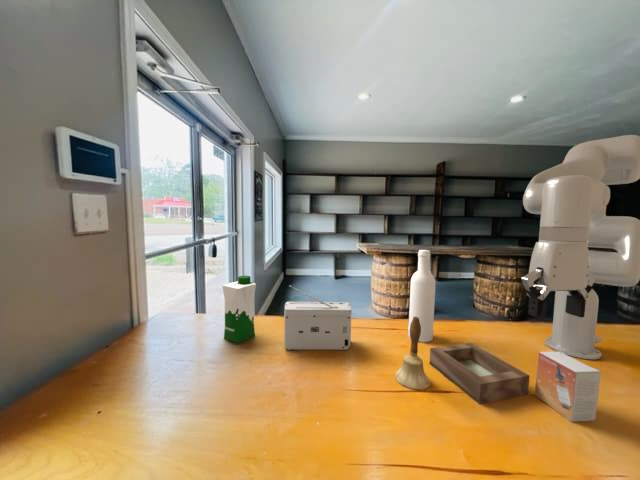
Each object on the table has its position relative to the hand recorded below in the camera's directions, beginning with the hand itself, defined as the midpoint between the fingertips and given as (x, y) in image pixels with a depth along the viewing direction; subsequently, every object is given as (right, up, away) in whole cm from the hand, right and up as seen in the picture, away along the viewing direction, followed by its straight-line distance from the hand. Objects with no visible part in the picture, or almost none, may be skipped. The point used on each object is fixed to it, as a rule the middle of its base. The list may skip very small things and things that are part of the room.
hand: (555, 315), depth 54 cm
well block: (-11, -19, +10) cm, 24 cm away
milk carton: (-78, -16, +30) cm, 85 cm away
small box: (+2, -20, 0) cm, 20 cm away
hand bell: (-28, -19, +9) cm, 35 cm away
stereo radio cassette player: (-52, -17, +25) cm, 60 cm away
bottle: (-16, -17, +32) cm, 40 cm away
